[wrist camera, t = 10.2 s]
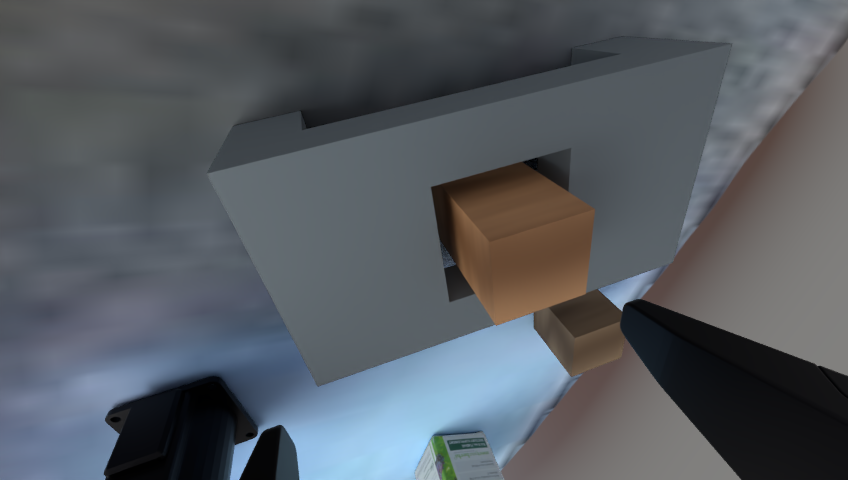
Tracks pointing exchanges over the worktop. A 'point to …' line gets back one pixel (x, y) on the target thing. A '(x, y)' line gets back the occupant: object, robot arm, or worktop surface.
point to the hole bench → (451, 160)
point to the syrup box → (458, 459)
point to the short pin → (582, 331)
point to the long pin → (515, 239)
